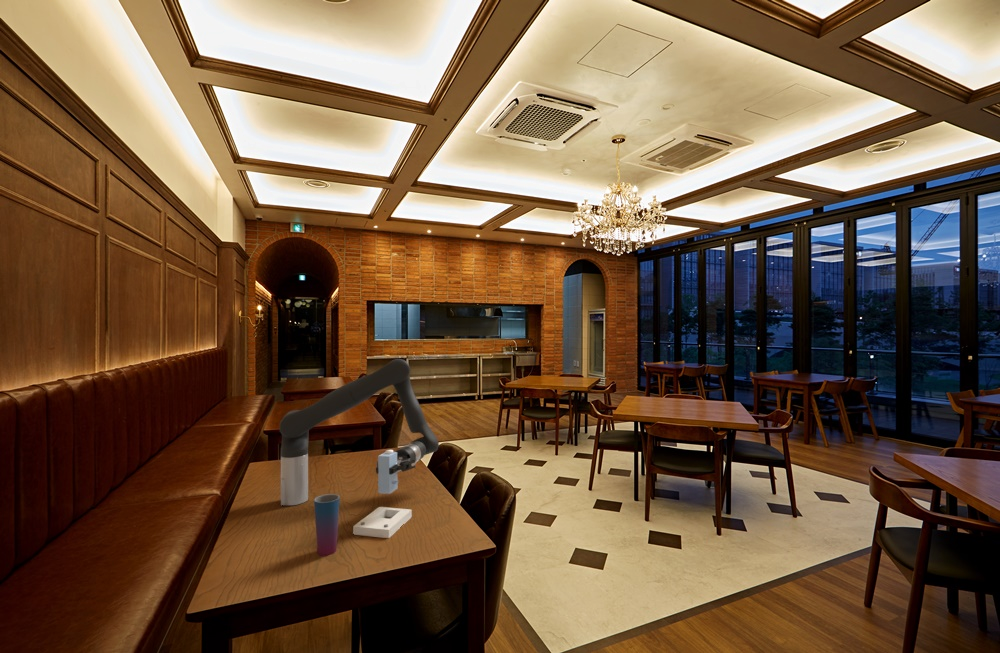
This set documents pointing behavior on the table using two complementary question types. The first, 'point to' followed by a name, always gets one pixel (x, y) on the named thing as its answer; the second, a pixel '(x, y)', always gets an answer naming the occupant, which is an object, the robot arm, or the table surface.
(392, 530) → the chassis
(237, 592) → the table surface
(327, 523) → the cup
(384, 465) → the block
